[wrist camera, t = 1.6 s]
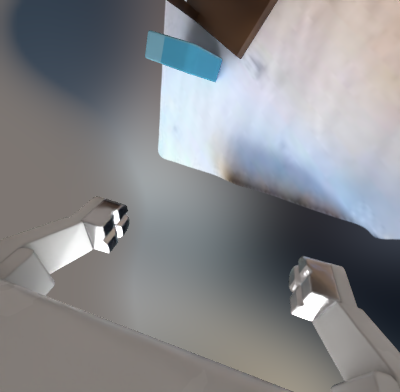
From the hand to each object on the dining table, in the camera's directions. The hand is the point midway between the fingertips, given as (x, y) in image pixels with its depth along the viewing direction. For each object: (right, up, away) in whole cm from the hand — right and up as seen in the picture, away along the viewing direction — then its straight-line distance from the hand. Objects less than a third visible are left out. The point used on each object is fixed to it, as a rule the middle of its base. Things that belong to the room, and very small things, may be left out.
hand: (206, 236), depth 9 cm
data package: (0, +32, +38) cm, 50 cm away
